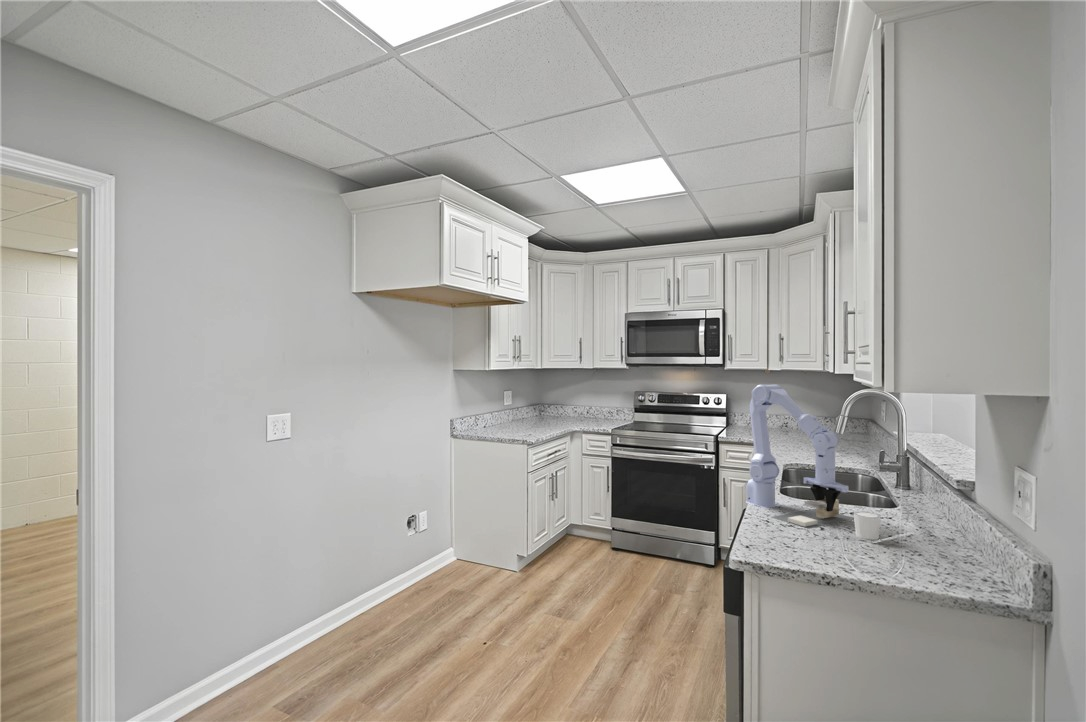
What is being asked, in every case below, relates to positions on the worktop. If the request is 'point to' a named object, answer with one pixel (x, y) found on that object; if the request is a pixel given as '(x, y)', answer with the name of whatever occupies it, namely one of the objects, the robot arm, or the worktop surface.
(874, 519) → the white cup
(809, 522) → the tile
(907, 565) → the worktop surface
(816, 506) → the turner
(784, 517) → the mat
